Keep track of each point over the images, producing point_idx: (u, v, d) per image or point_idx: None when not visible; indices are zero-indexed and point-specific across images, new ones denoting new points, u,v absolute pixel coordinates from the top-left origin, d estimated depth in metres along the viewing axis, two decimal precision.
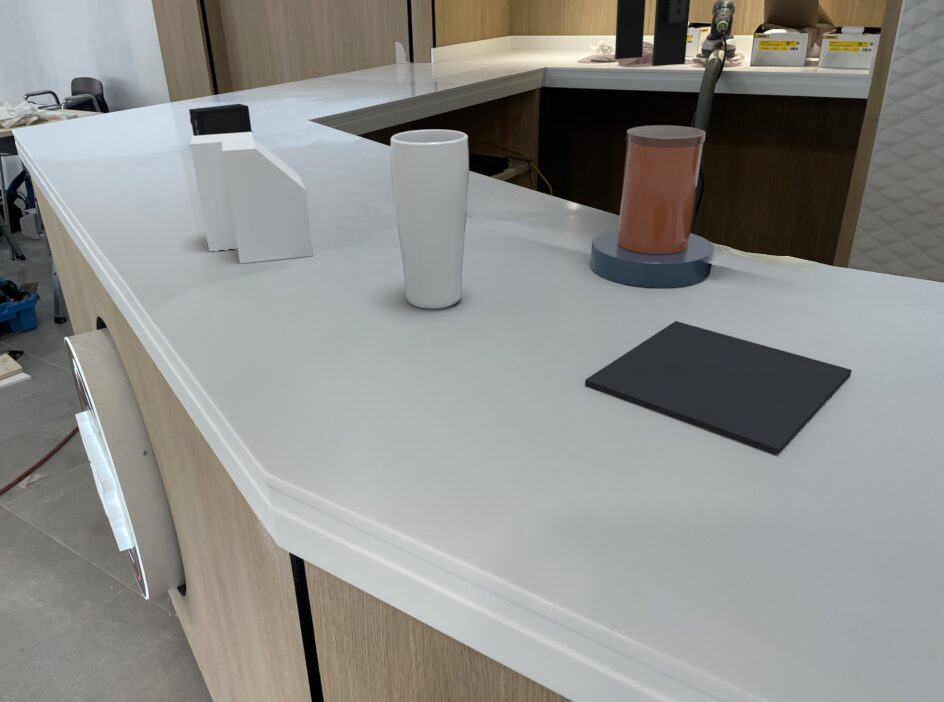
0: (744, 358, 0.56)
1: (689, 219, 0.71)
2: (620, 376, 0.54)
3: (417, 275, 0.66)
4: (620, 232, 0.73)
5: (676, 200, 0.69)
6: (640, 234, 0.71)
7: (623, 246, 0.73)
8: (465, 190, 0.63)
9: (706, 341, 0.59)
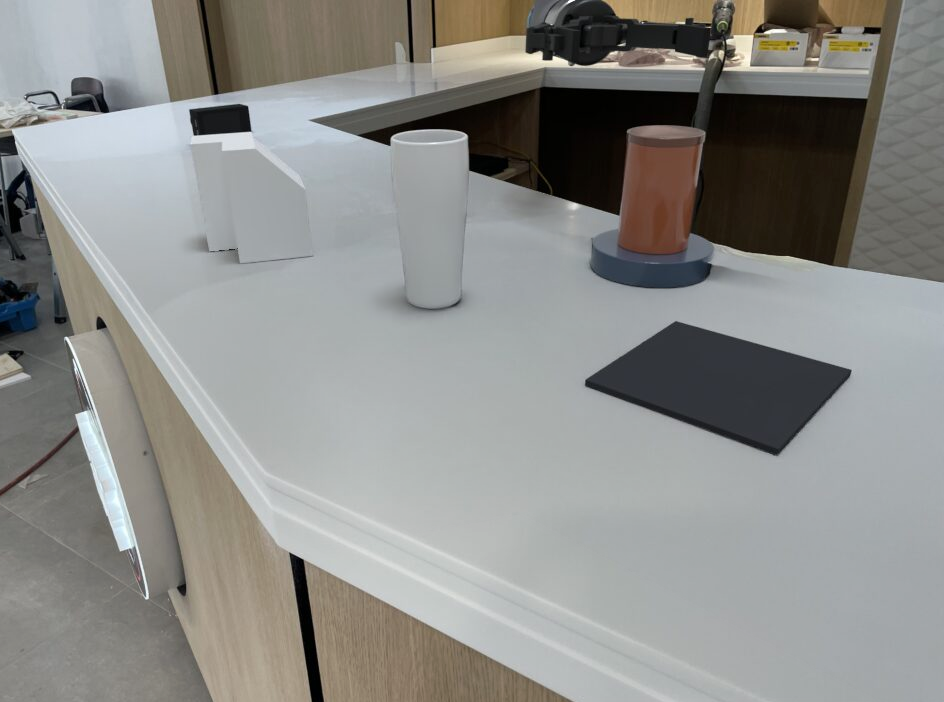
0: (744, 358, 0.56)
1: (689, 219, 0.71)
2: (620, 376, 0.54)
3: (417, 275, 0.66)
4: (620, 232, 0.73)
5: (676, 200, 0.69)
6: (640, 234, 0.71)
7: (623, 246, 0.73)
8: (465, 190, 0.63)
9: (706, 341, 0.59)
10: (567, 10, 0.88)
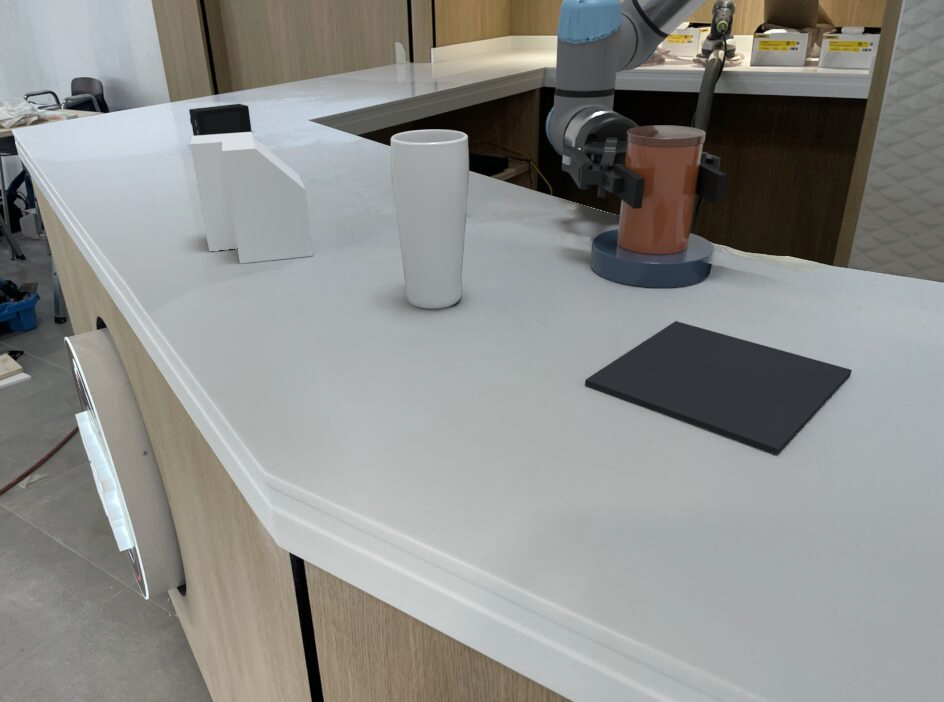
0: (744, 358, 0.56)
1: (689, 219, 0.71)
2: (620, 376, 0.54)
3: (417, 275, 0.66)
4: (620, 232, 0.73)
5: (676, 200, 0.69)
6: (640, 234, 0.71)
7: (623, 246, 0.73)
8: (465, 190, 0.63)
9: (706, 341, 0.59)
10: (590, 129, 0.83)
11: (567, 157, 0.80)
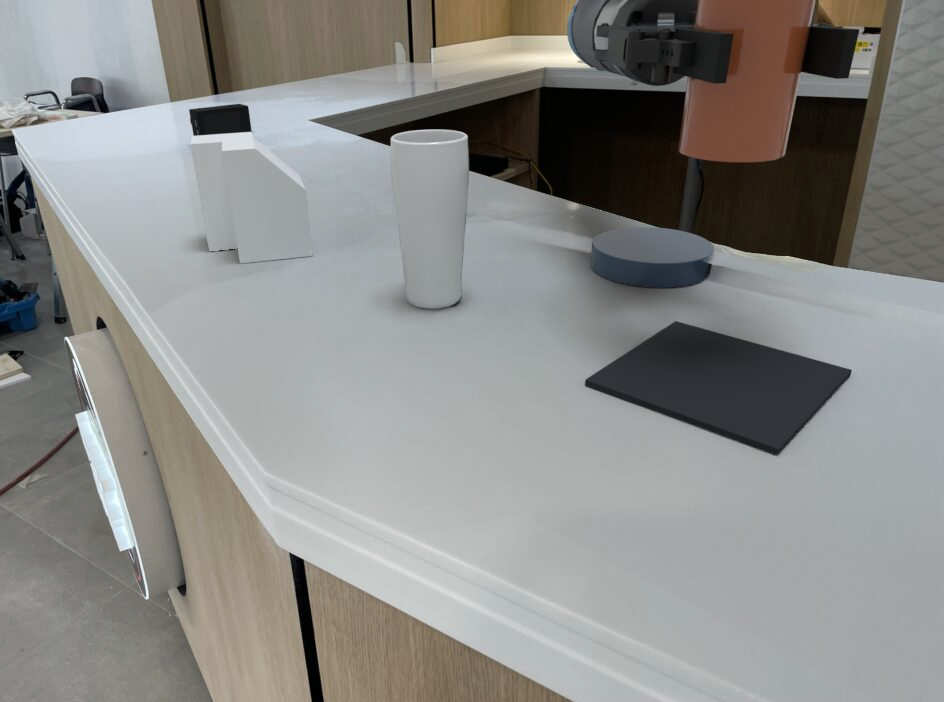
0: (744, 358, 0.56)
1: (791, 109, 0.48)
2: (620, 376, 0.54)
3: (417, 275, 0.66)
4: (685, 133, 0.50)
5: (776, 74, 0.46)
6: (718, 131, 0.48)
7: (689, 153, 0.50)
8: (465, 190, 0.63)
9: (706, 341, 0.59)
10: (634, 5, 0.60)
11: (603, 38, 0.57)
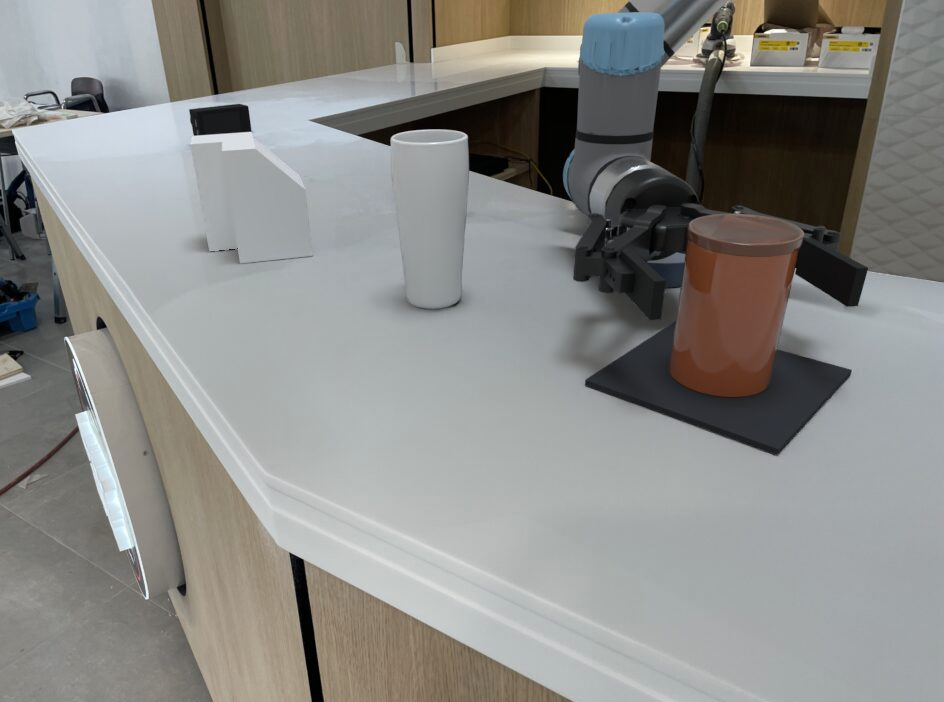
0: None
1: (775, 349, 0.50)
2: (620, 376, 0.54)
3: (417, 275, 0.66)
4: (676, 361, 0.53)
5: (760, 326, 0.48)
6: (706, 369, 0.50)
7: (679, 381, 0.53)
8: (465, 190, 0.63)
9: None
10: (627, 191, 0.62)
11: None
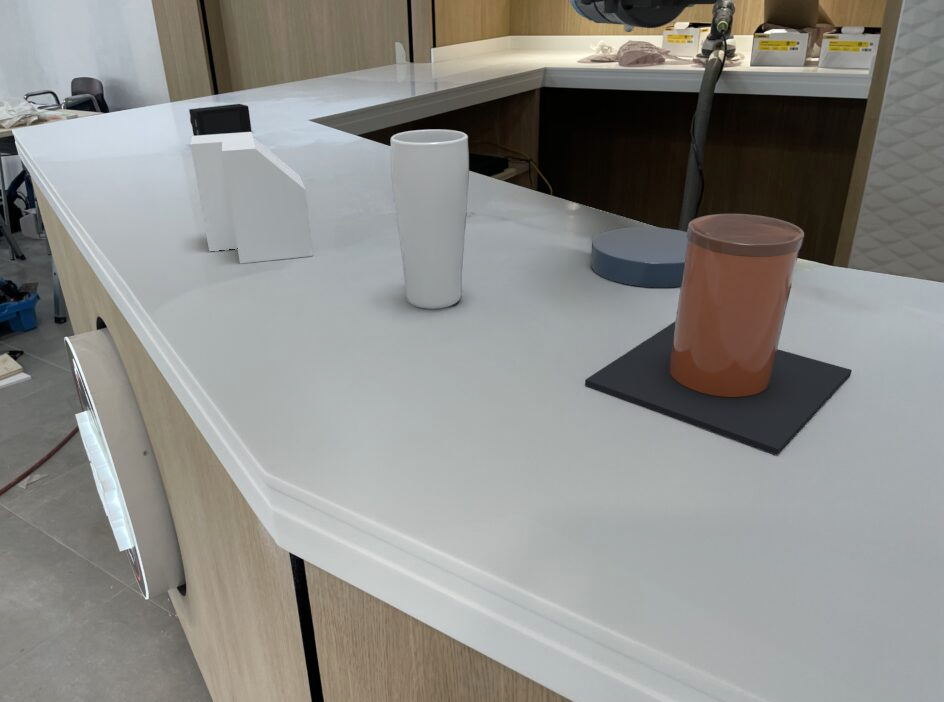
0: None
1: (775, 349, 0.50)
2: (620, 376, 0.54)
3: (417, 275, 0.66)
4: (676, 361, 0.53)
5: (760, 326, 0.48)
6: (706, 369, 0.50)
7: (679, 381, 0.53)
8: (465, 190, 0.63)
9: None
10: None
11: None
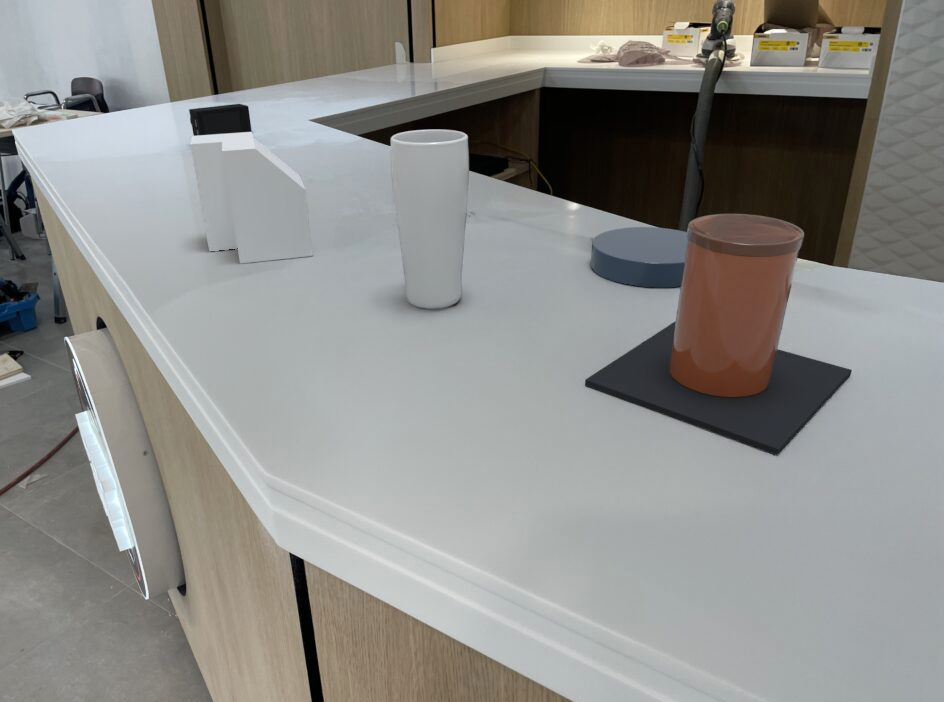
0: None
1: (775, 349, 0.50)
2: (620, 376, 0.54)
3: (417, 275, 0.66)
4: (676, 361, 0.53)
5: (760, 326, 0.48)
6: (706, 369, 0.50)
7: (679, 381, 0.53)
8: (465, 190, 0.63)
9: None
10: None
11: None
